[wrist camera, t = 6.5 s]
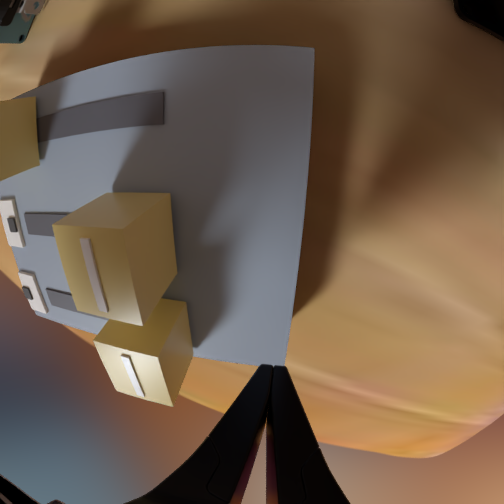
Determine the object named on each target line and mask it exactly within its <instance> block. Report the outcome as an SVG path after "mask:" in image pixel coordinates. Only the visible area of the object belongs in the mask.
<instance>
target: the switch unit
mask: <svg viewBox="0 0 504 504" xmlns="http://www.w3.org/2000/svg"><path fill="white" fill-rule="evenodd" d="M314 50H315V48H311V47H299V46H281V45H229V46H212V47H200V48H190V49H182V50H174V51H167V52H161V53H155V54H149V55H144V56H139V57H134V58H129V59H125V60H120V61H116V62H112V63H108V64H105V65H101V66H97V67H94V68H90V69H87V70H84V71H81V72H78V73H74V74H72V75H69V76H66V77H63V78H60V79H57V80H55V81H52V82H49V83H47V84H44V85H42V86H40V87H37V88H35V89H32V90H30V91H28V92H26V93H23V94H21V95H19V96H17V97H15V98H13V99H19V98H26V97H34V96H36V124H37V140H38V152H39V162H40V165H39V166H37V167H34V168H31V169H29V170H26V171H24V172H21V173H19V174H16V175H14V176H12V177H9V178H7V179H5V180H2V181H0V212H1V217H2V221H3V225H4V229H5V233H6V236H7V240H8V244H9V246H11V247H12V250H13V253H14V257H15V260H16V263H17V266H18V269H19V272H18V275H19V277H20V280H21V283H22V286H23V287H22V289H23V292H24V294H25V297H26V298H28V300H29V303H30V305H31V308H32V309H33V310H35V312H36V314H37V315H38V316H41V317H44V318H47V319H50V320H52V321H56V322H58V323H61V324H64V325H68V326H71V327H74V328H77V329H80V330H84V331H87V332H90V333H94V334H97V335H98V333H99V332H100V331H101V329H102V328H103V327H104V325H105V324H106V323H107V321H108V320H109V318H104V317H100V316H96V315H92V314H88V313H85V312H81V311H77V308H76V306H75V303H74V300H73V297H72V294H71V291H70V288H69V285H68V282H67V279H66V276H65V273H64V269H63V266H62V262H61V259H60V255H59V251H58V248H57V244H56V240H55V236H54V231H53V227H52V224H54V223H55V222H57V221H59V220H60V219H62V218H63V217H65V216H67V215H68V214H70V213H72V212H73V211H75V210H77V209H78V208H80V207H82V206H84V205H85V204H87V203H89V202H91V201H92V200H94V199H96V198H98V197H100V196H101V195H103V194H105V193H113V192H134V193H170V195H171V210H172V223H173V234H174V245H175V255H176V264H177V275H176V276H175V278H174V279H173V281H172V282H171V284H170V285H169V287H168V288H167V290H166V291H165V293H164V294H163V296H162V297H161V298H163V299H170V300H177V301H184V302H186V304H187V311H188V319H189V326H190V333H191V340H192V346H193V353H194V355H193V356H194V357H200V358H206V359H212V360H218V361H225V362H232V363H240V364H248V365H256V366H260V365H261V364H271V365H273V367H274V366H275V365H281V366H284V364H285V358H286V352H287V346H288V339H289V333H290V326H291V319H292V312H293V305H294V298H295V290H296V283H297V275H298V267H299V259H300V250H301V241H302V232H303V223H304V213H305V202H306V192H307V180H308V168H309V155H310V141H311V125H312V107H313V84H314ZM11 100H12V99H11Z"/></svg>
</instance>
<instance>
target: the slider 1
mask: <svg viewBox="0 0 504 504" xmlns="http://www.w3.org/2000/svg"><path fill="white" fill-rule="evenodd" d="M39 165H40V162H39V152H38V140H37V124H36V96H34V97H26V98H19V99H12V100H5V101H0V181H2V180H5V179H7V178H9V177H12V176H14V175H16V174H19V173H21V172H24V171H26V170H29V169H31V168H34V167H37V166H39Z"/></svg>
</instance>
